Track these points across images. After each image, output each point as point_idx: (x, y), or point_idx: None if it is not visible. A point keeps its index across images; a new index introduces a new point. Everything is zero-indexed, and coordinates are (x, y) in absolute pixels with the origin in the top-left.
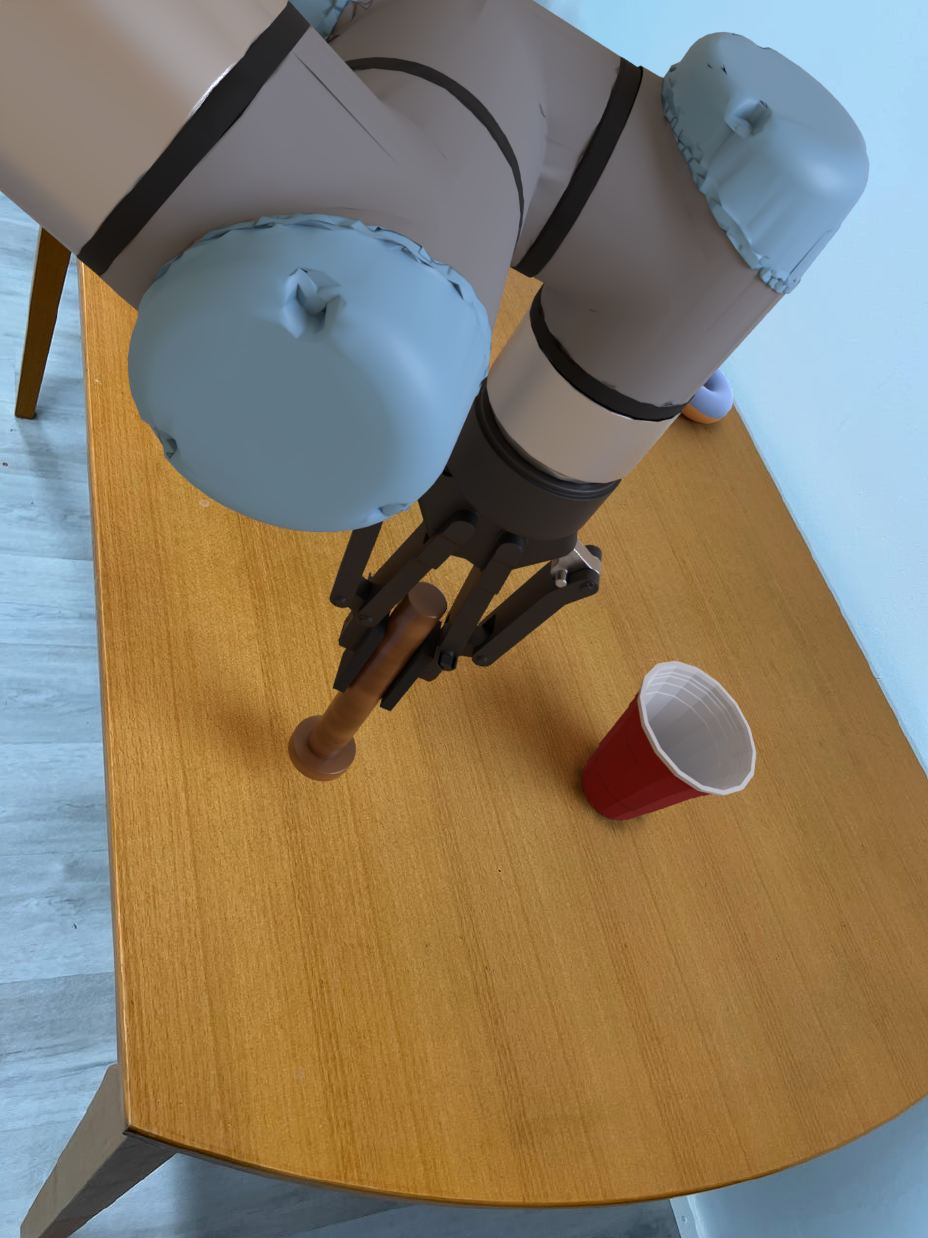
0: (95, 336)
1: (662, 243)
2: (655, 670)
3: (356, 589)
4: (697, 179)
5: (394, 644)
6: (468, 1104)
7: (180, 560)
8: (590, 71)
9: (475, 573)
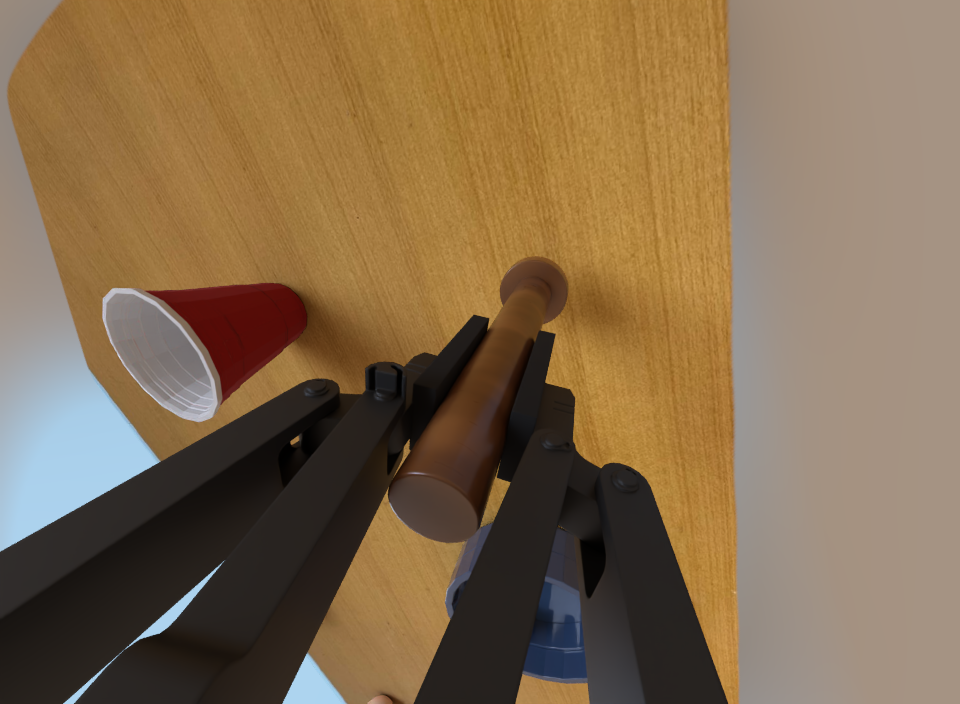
0: (735, 624)
1: None
2: (211, 410)
3: (610, 524)
4: None
5: (488, 400)
6: None
7: (661, 455)
8: None
9: (268, 667)
